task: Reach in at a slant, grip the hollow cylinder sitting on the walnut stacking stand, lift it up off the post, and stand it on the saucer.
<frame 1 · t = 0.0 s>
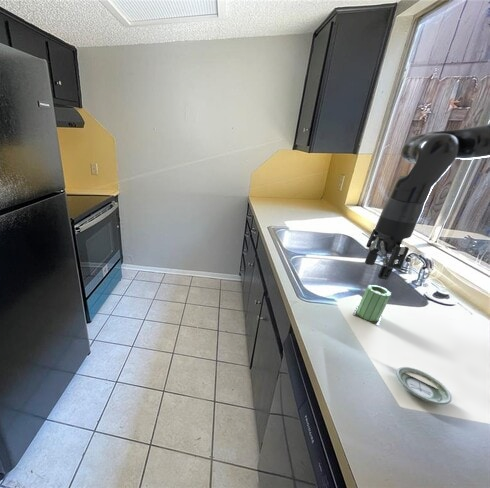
hand: (375, 270, 73), 20 cm above the worktop, tool pointing down, fingers open, 8 cm apart
saucer: (418, 390, 62), on the worktop
stand: (365, 319, 85), on the worktop
hollow cylinder: (367, 315, 84), point 1 cm above the worktop, touching stand
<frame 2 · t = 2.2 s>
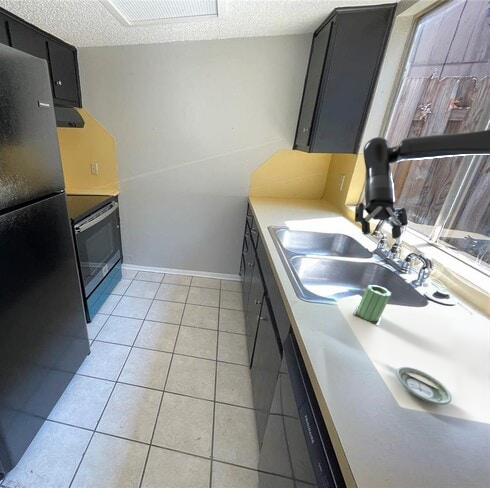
hand: (381, 235, 83), 26 cm above the worktop, tool tilted 40°, fingers open, 8 cm apart
nothing on the worktop moved.
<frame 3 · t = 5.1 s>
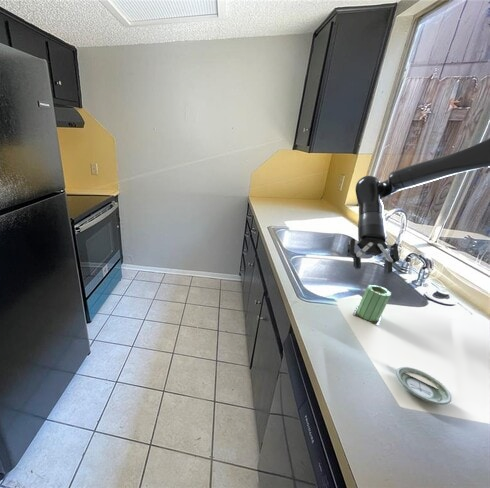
hand: (372, 271, 85), 14 cm above the worktop, tool tilted 45°, fingers open, 8 cm apart
nothing on the worktop moved.
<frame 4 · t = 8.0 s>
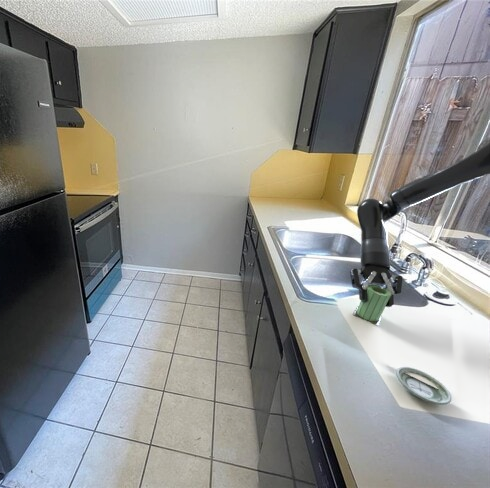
hand: (376, 304, 80), 7 cm above the worktop, tool tilted 45°, fingers closed on hollow cylinder, 6 cm apart
hollow cylinder: (367, 315, 84), point 2 cm above the worktop, touching gripper, stand
everything else where it was.
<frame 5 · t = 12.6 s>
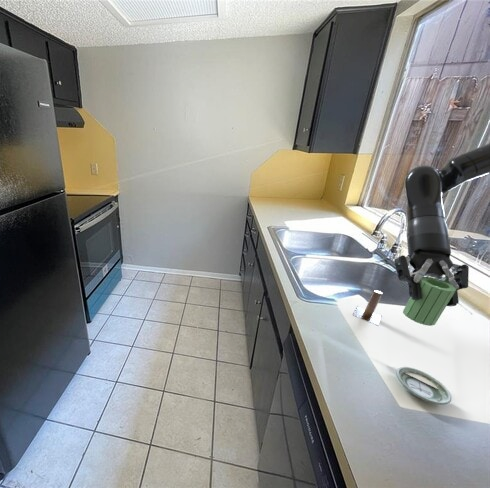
hand: (433, 302, 60), 20 cm above the worktop, tool tilted 45°, fingers closed on hollow cylinder, 6 cm apart
hollow cylinder: (418, 317, 64), point 14 cm above the worktop, touching gripper
everything else where it was.
when the fingers open (8 cm above the worktop, at t = 17.6 s): hollow cylinder stays where it is, resting on saucer.
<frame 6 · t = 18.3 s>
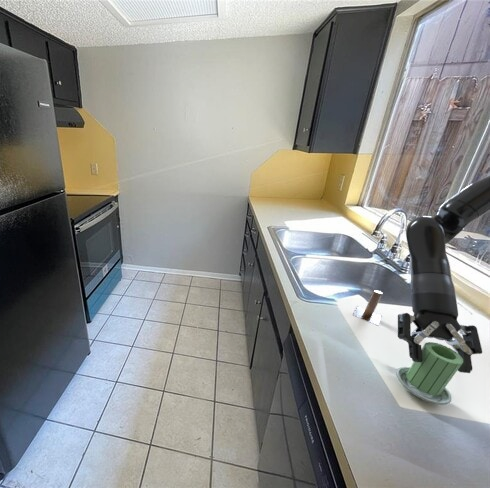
hand: (440, 367, 57), 9 cm above the worktop, tool tilted 45°, fingers open, 8 cm apart
saucer: (418, 390, 62), on the worktop, touching hollow cylinder
hollow cylinder: (422, 383, 61), point 2 cm above the worktop, touching saucer
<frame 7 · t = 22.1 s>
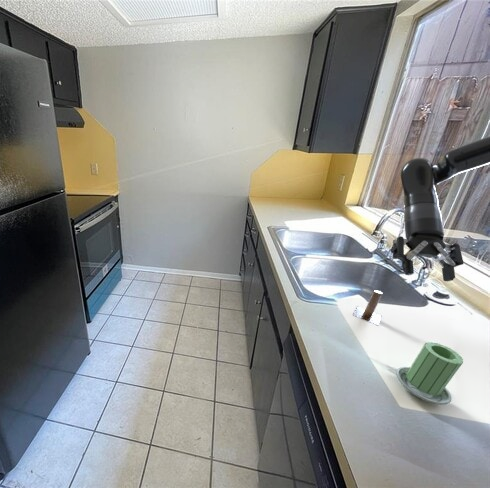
hand: (428, 277, 67), 22 cm above the worktop, tool tilted 45°, fingers open, 8 cm apart
nothing on the worktop moved.
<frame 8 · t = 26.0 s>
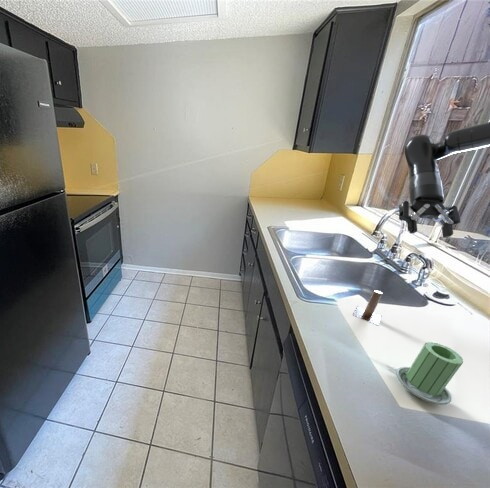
hand: (430, 234, 78), 29 cm above the worktop, tool tilted 45°, fingers open, 8 cm apart
nothing on the worktop moved.
at the end: hollow cylinder inside the target area on the saucer (0.1 cm from its centre), point 2.6 cm above the saucer's base; hollow cylinder tilted 0°; the gripper is holding nothing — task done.
